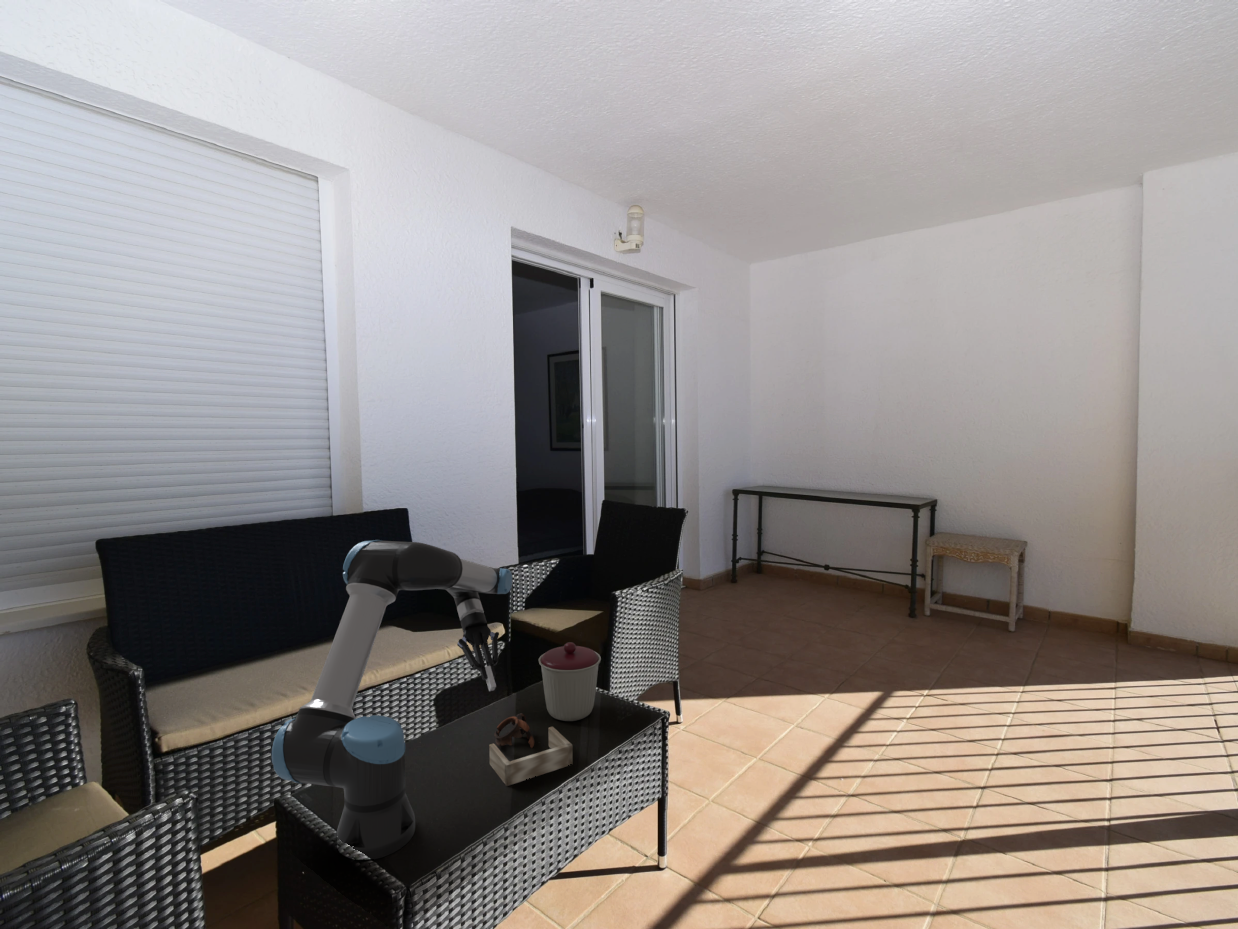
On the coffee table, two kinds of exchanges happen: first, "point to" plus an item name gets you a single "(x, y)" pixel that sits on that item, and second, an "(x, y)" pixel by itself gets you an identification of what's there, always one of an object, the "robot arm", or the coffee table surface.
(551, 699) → the canister
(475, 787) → the coffee table surface
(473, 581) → the robot arm
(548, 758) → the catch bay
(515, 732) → the pottery mug
